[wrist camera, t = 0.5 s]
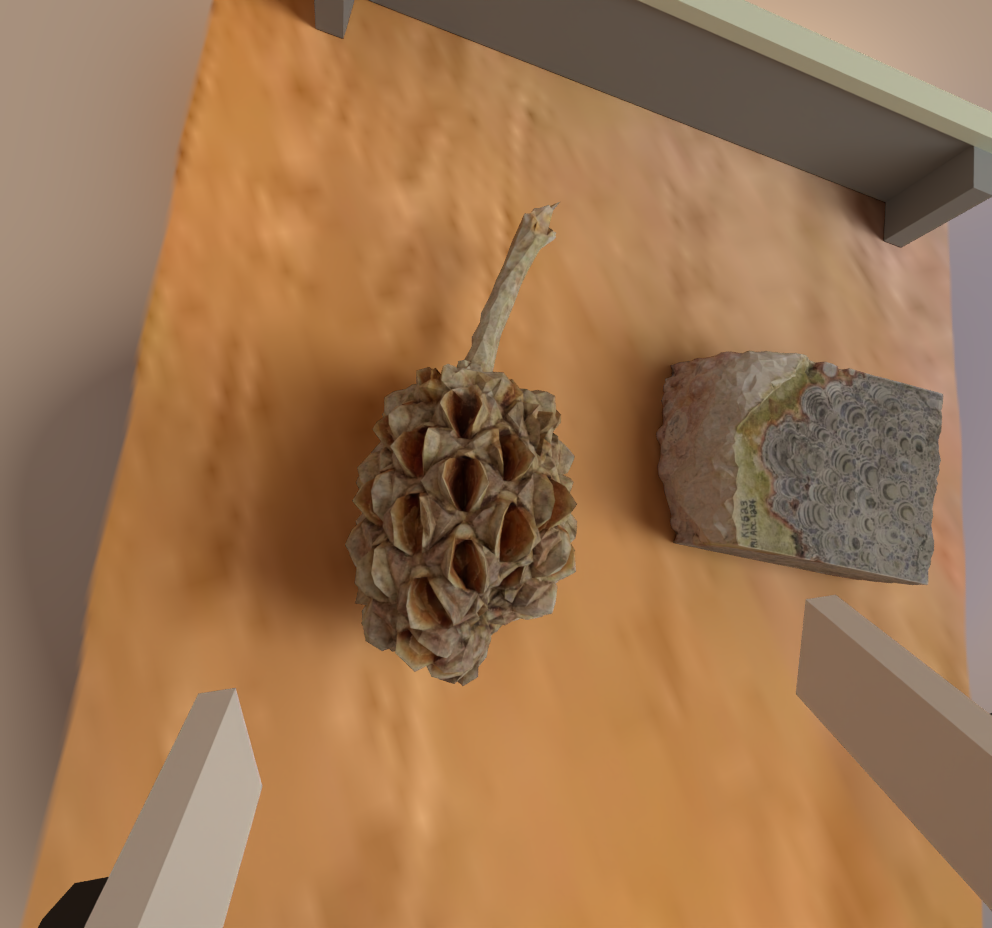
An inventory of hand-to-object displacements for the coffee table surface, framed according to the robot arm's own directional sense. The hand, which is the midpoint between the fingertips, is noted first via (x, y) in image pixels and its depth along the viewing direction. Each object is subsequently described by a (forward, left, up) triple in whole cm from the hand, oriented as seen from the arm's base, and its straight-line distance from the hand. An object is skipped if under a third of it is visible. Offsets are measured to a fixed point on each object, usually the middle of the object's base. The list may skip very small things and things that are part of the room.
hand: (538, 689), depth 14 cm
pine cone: (+9, 0, -16) cm, 19 cm away
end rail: (+32, -7, -16) cm, 36 cm away
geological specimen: (+12, -18, -16) cm, 27 cm away
